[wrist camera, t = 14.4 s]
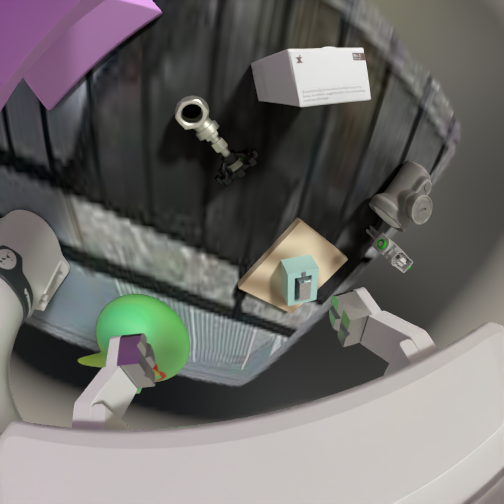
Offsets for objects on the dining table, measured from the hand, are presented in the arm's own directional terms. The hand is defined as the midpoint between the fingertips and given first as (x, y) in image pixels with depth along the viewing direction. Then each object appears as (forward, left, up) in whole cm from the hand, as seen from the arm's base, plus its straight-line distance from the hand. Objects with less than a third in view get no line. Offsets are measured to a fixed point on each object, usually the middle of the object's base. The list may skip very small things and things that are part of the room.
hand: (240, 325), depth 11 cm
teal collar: (-8, -26, -30) cm, 40 cm away
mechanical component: (+7, -33, -31) cm, 46 cm away
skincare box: (+15, -2, -31) cm, 35 cm away
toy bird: (-32, -8, -31) cm, 45 cm away
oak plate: (-8, -26, -31) cm, 41 cm away
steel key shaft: (-8, -26, -30) cm, 40 cm away
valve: (+2, +1, -32) cm, 32 cm away
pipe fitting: (+16, -30, -31) cm, 46 cm away
